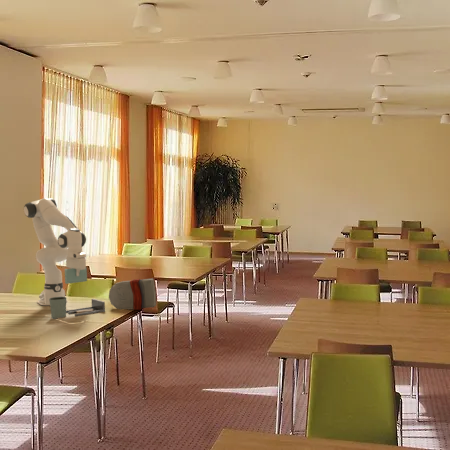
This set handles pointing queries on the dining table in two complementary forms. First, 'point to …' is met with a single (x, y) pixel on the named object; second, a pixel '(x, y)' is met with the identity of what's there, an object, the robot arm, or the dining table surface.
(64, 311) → the grey-green bin
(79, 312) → the offcut walnut
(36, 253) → the robot arm
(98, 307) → the offcut rack
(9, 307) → the dining table surface
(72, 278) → the teal sheet
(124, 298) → the decorative stone tablet
